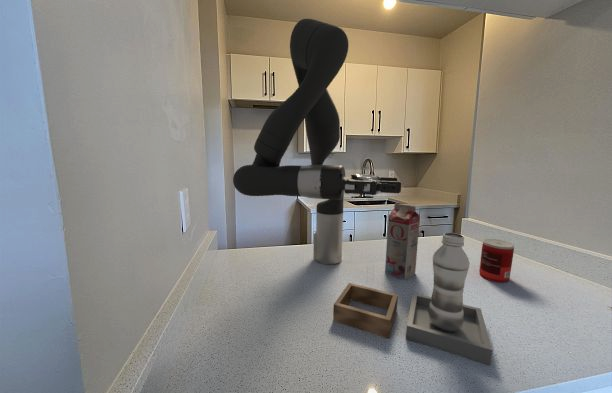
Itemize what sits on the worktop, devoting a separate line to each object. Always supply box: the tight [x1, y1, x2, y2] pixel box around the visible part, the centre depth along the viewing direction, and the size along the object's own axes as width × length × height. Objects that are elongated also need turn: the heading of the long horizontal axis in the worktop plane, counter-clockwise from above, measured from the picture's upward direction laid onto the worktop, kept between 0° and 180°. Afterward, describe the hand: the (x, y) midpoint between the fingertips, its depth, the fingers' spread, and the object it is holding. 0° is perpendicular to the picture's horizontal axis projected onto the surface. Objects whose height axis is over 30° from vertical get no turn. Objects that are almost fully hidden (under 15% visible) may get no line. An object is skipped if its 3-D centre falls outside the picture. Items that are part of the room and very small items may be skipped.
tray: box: [405, 292, 493, 366], centre depth 54 cm, size 14×14×3 cm
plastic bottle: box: [428, 232, 470, 332], centre depth 53 cm, size 6×7×20 cm
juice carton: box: [384, 202, 421, 281], centre depth 79 cm, size 7×7×22 cm
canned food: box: [479, 238, 515, 283], centre depth 78 cm, size 8×8×11 cm
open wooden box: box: [332, 282, 399, 340], centre depth 59 cm, size 12×11×4 cm
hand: (398, 184), depth 52 cm, fingers open, 8 cm apart
